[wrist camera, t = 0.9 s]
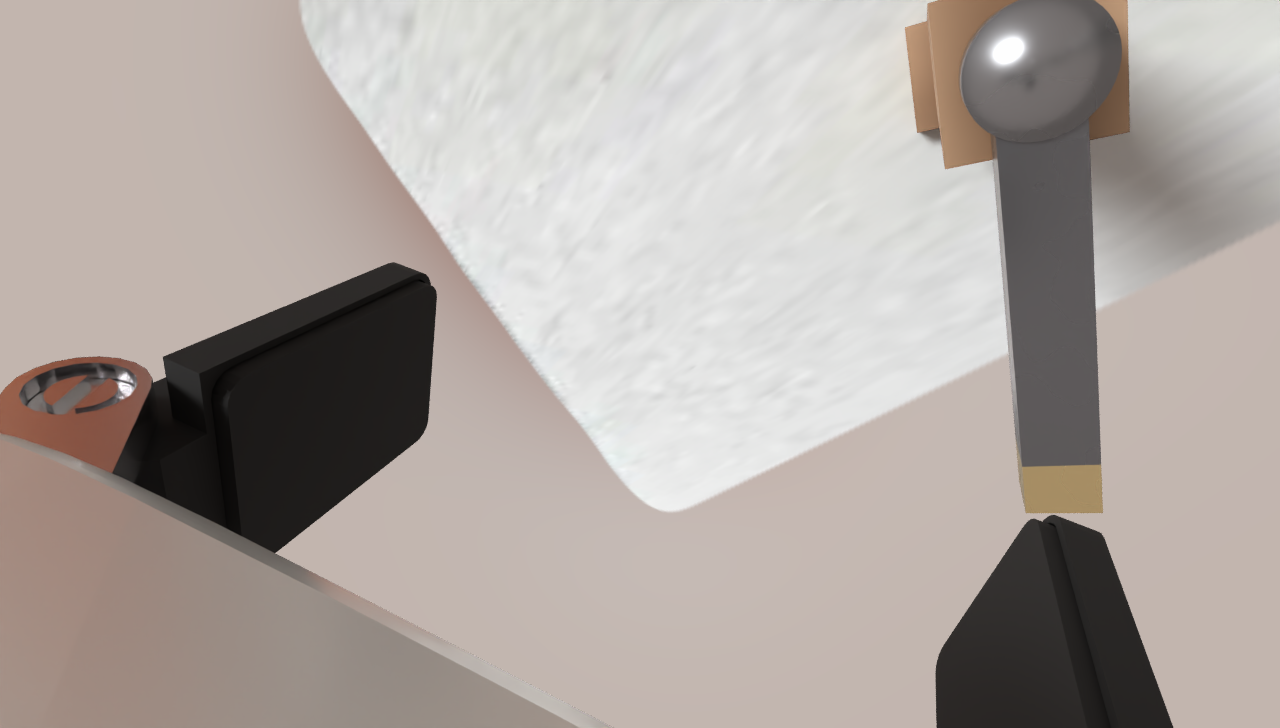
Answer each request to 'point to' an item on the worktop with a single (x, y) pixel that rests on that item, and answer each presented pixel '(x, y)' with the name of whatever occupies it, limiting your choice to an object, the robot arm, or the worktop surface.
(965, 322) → the worktop surface
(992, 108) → the latch bar
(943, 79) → the post
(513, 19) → the worktop surface
